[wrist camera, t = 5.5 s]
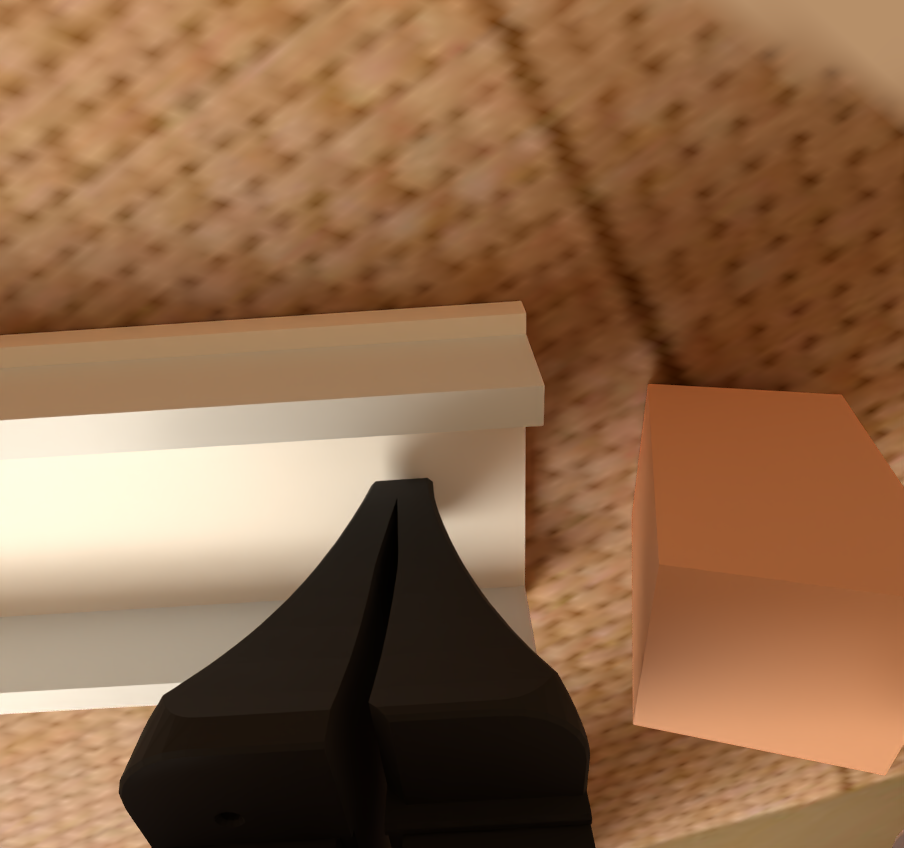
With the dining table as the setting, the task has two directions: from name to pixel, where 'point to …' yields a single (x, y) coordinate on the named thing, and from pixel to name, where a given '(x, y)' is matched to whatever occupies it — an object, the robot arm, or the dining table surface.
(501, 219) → the dining table surface
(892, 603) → the terracotta block
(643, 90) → the dining table surface
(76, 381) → the trap channel
